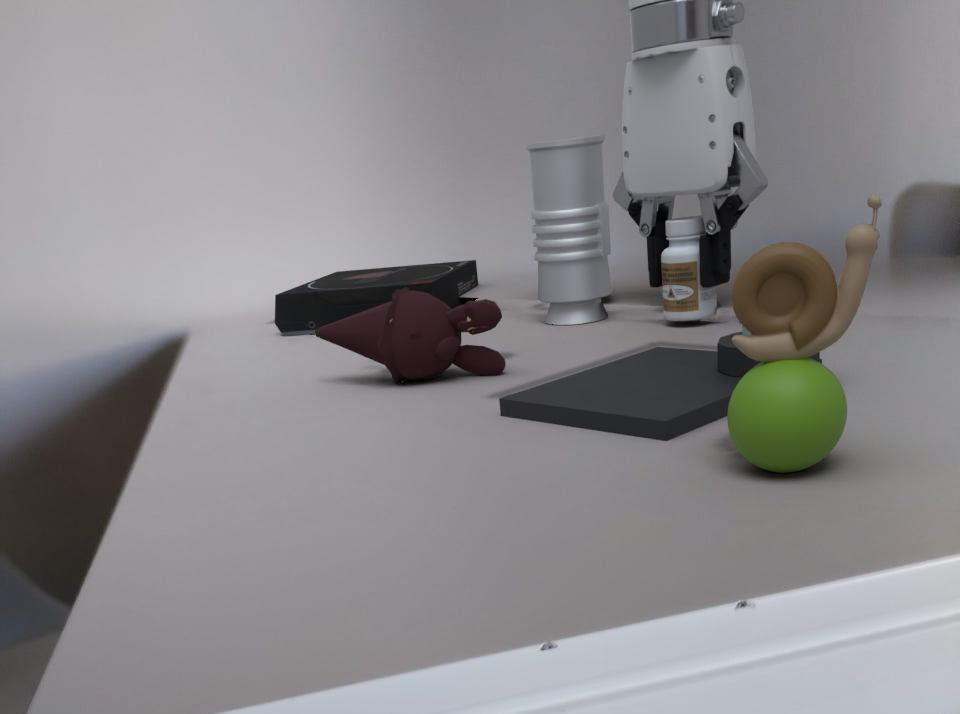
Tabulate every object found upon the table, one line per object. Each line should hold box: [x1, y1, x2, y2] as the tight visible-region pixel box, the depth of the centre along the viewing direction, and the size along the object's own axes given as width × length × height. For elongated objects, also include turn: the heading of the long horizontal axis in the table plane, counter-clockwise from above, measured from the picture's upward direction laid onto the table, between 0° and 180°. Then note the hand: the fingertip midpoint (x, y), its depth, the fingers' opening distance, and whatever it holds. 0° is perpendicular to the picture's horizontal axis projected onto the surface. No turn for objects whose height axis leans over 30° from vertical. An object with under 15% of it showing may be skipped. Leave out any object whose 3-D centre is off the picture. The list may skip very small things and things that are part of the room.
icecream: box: [314, 287, 506, 385], centre depth 77 cm, size 7×7×15 cm
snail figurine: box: [726, 193, 883, 474], centre depth 47 cm, size 5×6×12 cm
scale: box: [498, 331, 823, 442], centre depth 64 cm, size 16×14×3 cm
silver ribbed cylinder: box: [525, 134, 613, 326], centre depth 92 cm, size 7×7×15 cm
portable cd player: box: [274, 259, 479, 337], centre depth 109 cm, size 16×17×4 cm
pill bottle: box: [661, 214, 718, 322], centre depth 85 cm, size 4×4×8 cm
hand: (689, 282), depth 86 cm, fingers closed on pill bottle, 4 cm apart
